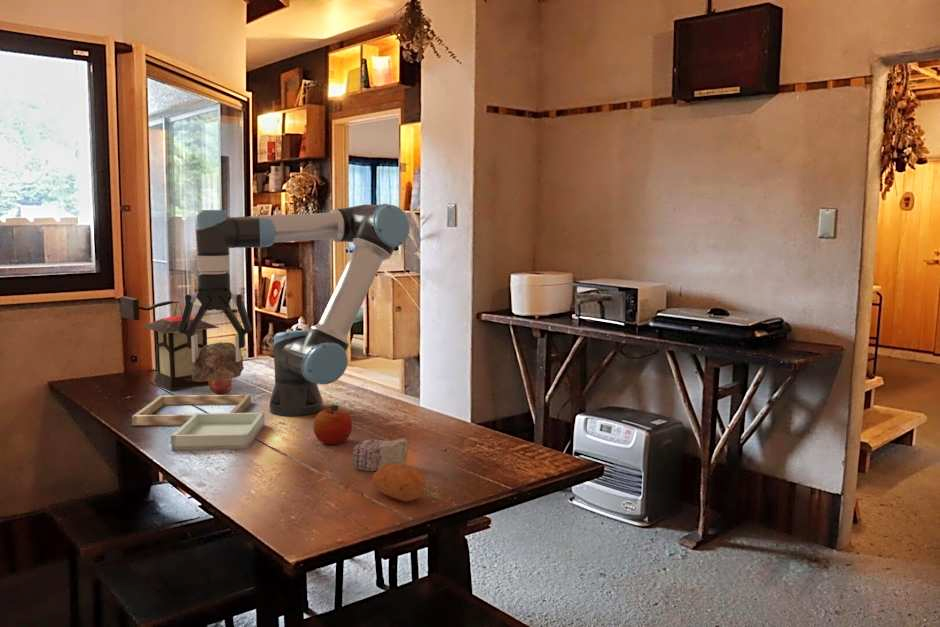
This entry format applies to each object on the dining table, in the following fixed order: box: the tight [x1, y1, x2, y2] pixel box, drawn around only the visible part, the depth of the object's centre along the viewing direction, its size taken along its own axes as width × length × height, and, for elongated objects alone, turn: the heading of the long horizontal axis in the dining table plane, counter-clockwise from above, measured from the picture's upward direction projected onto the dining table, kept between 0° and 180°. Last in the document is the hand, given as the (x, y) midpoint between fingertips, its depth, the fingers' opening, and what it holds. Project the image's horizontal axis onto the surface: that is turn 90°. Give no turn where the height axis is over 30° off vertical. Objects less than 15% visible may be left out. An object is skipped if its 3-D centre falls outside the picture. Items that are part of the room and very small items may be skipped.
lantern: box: [119, 296, 220, 392], centre depth 254 cm, size 18×26×30 cm
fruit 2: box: [312, 404, 353, 446], centre depth 195 cm, size 10×10×10 cm
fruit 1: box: [208, 378, 233, 395], centre depth 244 cm, size 8×8×8 cm
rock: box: [192, 341, 244, 382], centre depth 197 cm, size 14×9×10 cm
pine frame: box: [131, 394, 252, 426], centre depth 223 cm, size 26×23×2 cm
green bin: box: [170, 412, 265, 451], centre depth 200 cm, size 18×21×4 cm
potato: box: [372, 464, 426, 503], centre depth 158 cm, size 7×13×7 cm, turn 41°
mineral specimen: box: [352, 438, 409, 472], centre depth 178 cm, size 13×7×6 cm, turn 113°
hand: (217, 360), depth 197 cm, fingers closed on rock, 10 cm apart
